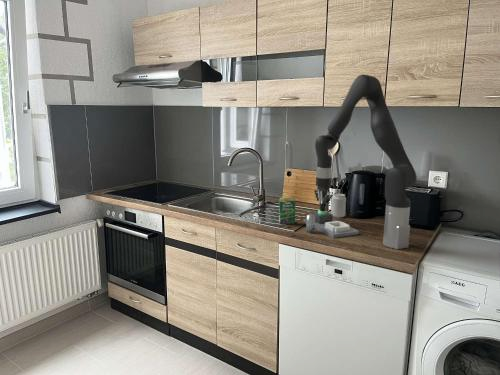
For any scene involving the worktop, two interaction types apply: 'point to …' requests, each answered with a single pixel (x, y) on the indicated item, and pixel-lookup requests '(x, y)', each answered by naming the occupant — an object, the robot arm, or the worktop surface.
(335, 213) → the can
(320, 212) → the button
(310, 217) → the billet
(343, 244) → the worktop surface
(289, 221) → the coffee box
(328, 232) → the pallet
